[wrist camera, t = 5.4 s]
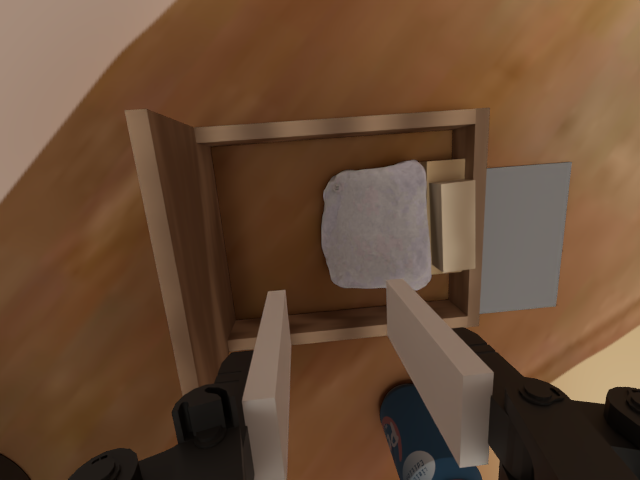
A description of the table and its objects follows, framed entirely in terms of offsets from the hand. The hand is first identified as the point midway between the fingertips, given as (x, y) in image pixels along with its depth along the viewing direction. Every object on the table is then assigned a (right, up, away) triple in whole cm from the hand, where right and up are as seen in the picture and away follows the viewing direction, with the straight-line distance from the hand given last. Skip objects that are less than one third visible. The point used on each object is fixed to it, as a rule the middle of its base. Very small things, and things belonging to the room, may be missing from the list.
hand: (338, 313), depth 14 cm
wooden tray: (+1, +4, +18) cm, 19 cm away
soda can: (+9, -16, +24) cm, 30 cm away
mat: (+20, +3, +20) cm, 28 cm away
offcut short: (+11, +5, +16) cm, 20 cm away
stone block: (-1, +4, +17) cm, 18 cm away
